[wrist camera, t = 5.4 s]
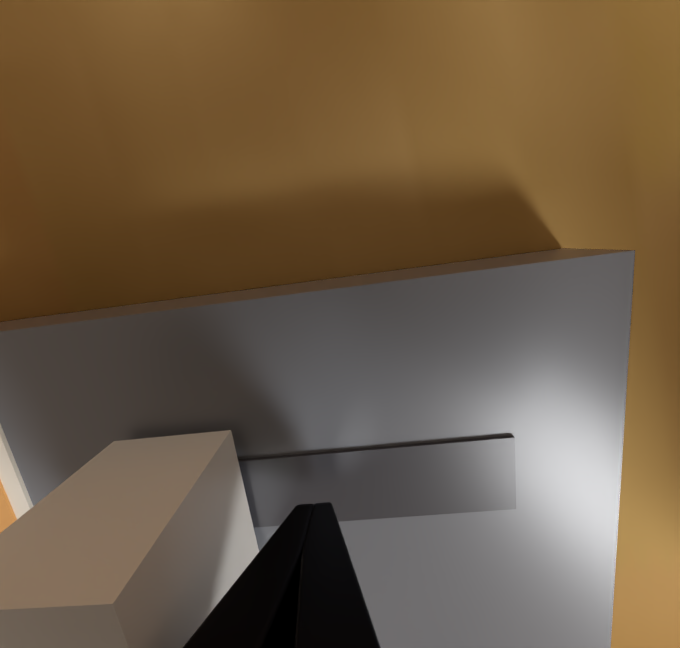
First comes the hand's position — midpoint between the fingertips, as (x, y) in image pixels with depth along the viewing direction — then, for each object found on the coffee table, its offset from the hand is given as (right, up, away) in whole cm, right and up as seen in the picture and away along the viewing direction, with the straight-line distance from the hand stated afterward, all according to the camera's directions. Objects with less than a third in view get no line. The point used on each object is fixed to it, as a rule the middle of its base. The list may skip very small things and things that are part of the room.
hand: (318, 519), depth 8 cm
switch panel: (-1, -6, +5) cm, 8 cm away
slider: (-3, 0, +1) cm, 4 cm away
